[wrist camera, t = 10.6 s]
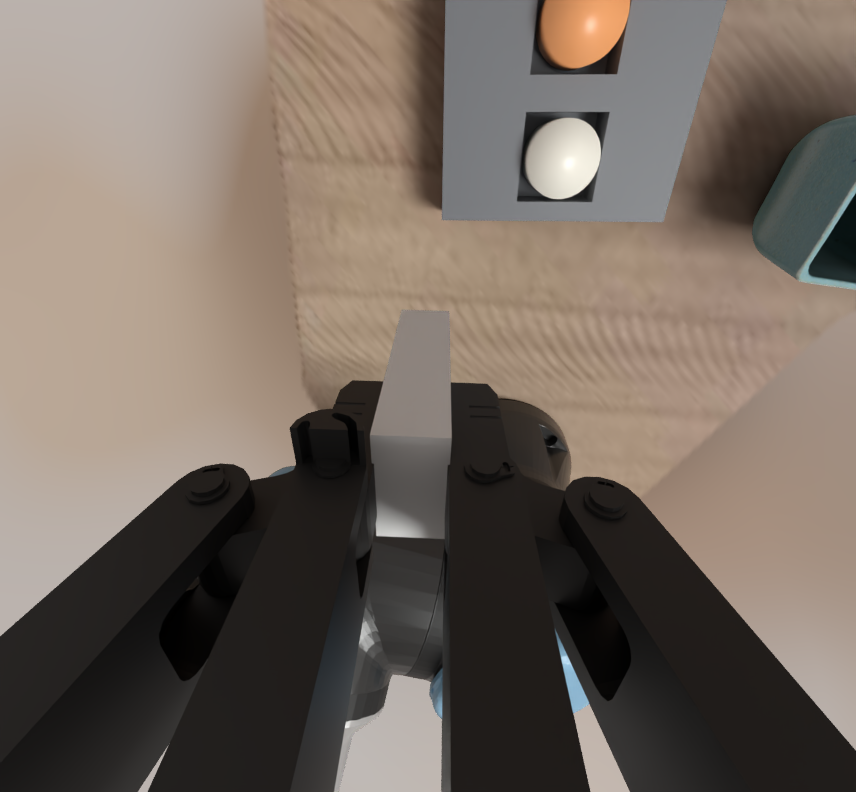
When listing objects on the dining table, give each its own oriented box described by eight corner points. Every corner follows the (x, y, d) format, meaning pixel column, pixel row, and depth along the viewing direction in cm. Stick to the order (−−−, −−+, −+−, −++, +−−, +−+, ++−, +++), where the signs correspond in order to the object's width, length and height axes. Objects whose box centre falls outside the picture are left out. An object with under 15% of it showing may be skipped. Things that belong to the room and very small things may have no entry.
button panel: (643, 212, 32) (663, 221, 29) (442, 210, 32) (441, 220, 29) (767, -264, 20) (821, -330, 17) (450, -253, 21) (450, -315, 18)
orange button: (604, 70, 26) (618, 66, 23) (531, 70, 26) (538, 66, 24) (622, -30, 23) (640, -46, 21) (542, -29, 23) (551, -44, 21)
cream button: (582, 193, 29) (592, 199, 27) (518, 193, 30) (523, 199, 27) (595, 117, 27) (608, 117, 25) (526, 117, 27) (532, 117, 25)
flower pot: (910, 129, 28) (1077, 133, 21) (822, 262, 33) (932, 304, 25) (783, 106, 28) (907, 102, 20) (714, 244, 33) (793, 281, 25)
